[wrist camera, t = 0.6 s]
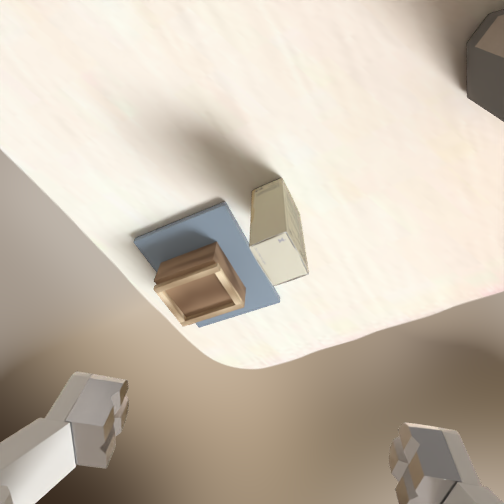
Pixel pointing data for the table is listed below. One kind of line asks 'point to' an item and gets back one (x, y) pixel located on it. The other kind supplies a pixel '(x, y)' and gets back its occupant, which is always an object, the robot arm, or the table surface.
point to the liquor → (487, 65)
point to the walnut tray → (199, 285)
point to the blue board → (204, 233)
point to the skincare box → (277, 233)
